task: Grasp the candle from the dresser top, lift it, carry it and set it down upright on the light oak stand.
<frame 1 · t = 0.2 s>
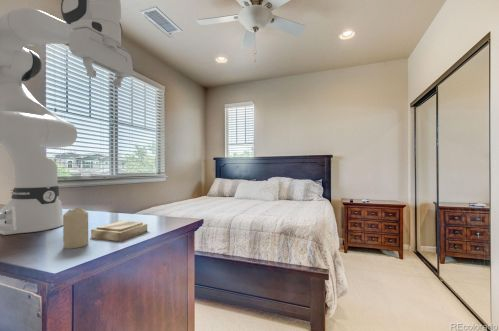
hand: (105, 81, 76), 47 cm above the table, fingers open, 8 cm apart
stand: (120, 234, 77), on the table
candle: (76, 246, 67), on the table
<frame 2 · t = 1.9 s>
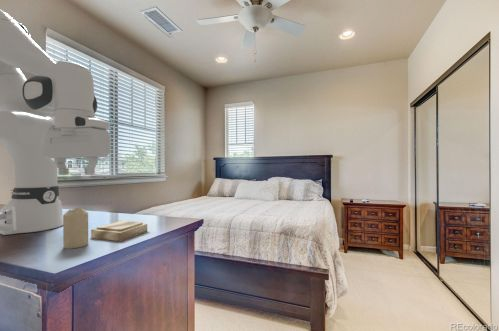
hand: (76, 174, 67), 19 cm above the table, fingers open, 8 cm apart
nothing on the table moved.
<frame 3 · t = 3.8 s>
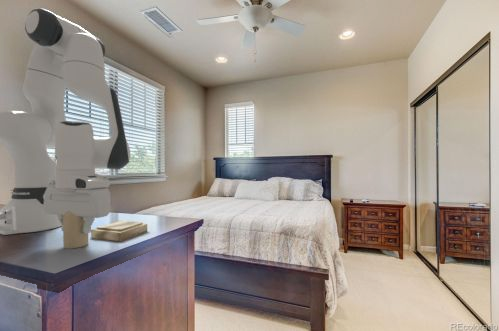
hand: (76, 232, 67), 4 cm above the table, fingers closed on candle, 6 cm apart
candle: (76, 246, 67), on the table, touching gripper
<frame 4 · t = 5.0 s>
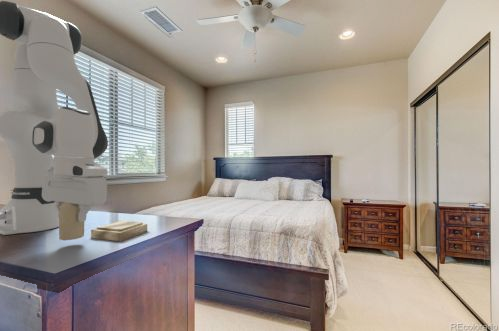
hand: (71, 219, 67), 7 cm above the table, fingers closed on candle, 5 cm apart
candle: (71, 237, 67), point 2 cm above the table, touching gripper
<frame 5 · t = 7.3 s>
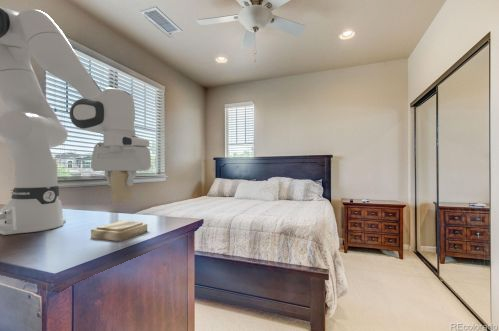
hand: (120, 185, 77), 15 cm above the table, fingers closed on candle, 5 cm apart
candle: (121, 201, 78), point 10 cm above the table, touching gripper
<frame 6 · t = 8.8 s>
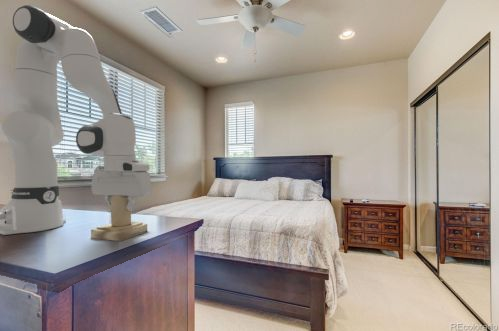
hand: (120, 209, 77), 8 cm above the table, fingers closed on candle, 5 cm apart
candle: (121, 225, 78), point 3 cm above the table, touching gripper, stand
when the fingers open (8 cm above the table, at t = 9.4 s): candle stays where it is, resting on stand.
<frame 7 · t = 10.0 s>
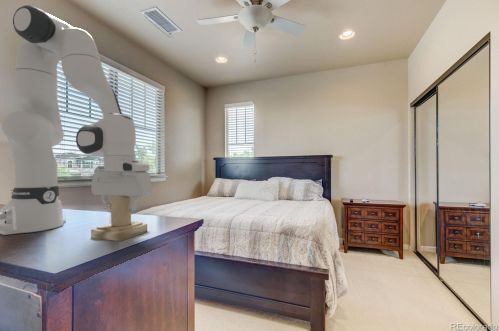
hand: (120, 209, 77), 8 cm above the table, fingers open, 8 cm apart
candle: (121, 225, 78), point 3 cm above the table, touching stand
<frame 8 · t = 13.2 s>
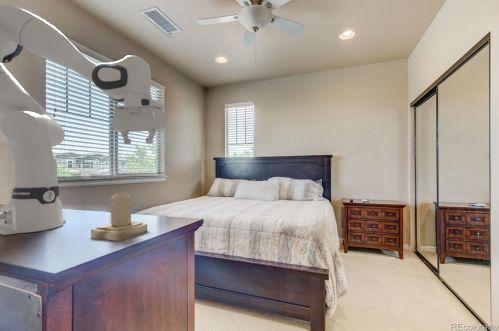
hand: (138, 143, 87), 29 cm above the table, fingers open, 8 cm apart
nothing on the table moved.
at the end: candle inside the target area on the stand (0.3 cm from its centre), point 2.8 cm above the stand's base; candle tilted 0°; the gripper is holding nothing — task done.
